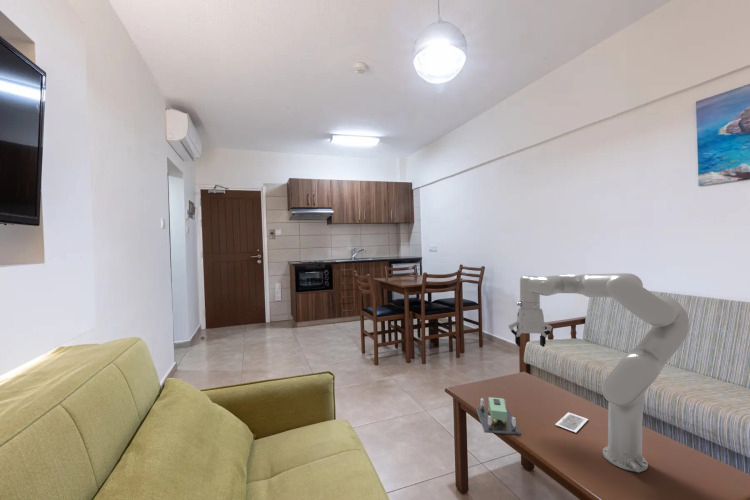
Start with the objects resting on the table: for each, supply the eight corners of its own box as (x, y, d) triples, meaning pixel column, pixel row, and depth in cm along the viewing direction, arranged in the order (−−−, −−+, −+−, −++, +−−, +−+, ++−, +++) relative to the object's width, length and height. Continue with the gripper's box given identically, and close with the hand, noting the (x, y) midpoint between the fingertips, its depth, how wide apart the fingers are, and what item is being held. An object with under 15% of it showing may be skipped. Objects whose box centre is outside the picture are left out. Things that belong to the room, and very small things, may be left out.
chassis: (520, 434, 132) (521, 419, 131) (484, 432, 133) (484, 417, 133) (508, 411, 149) (508, 398, 149) (476, 410, 151) (476, 397, 151)
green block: (506, 420, 135) (506, 410, 135) (491, 418, 136) (491, 408, 136) (502, 406, 146) (502, 397, 146) (488, 404, 148) (488, 395, 148)
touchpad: (588, 421, 142) (588, 416, 142) (575, 435, 132) (576, 429, 132) (568, 414, 148) (568, 409, 148) (554, 427, 138) (555, 421, 138)
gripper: (511, 306, 137) (511, 348, 137) (555, 306, 135) (555, 348, 135) (506, 303, 144) (506, 342, 144) (547, 303, 142) (548, 343, 143)
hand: (530, 345), depth 140 cm, fingers open, 9 cm apart
